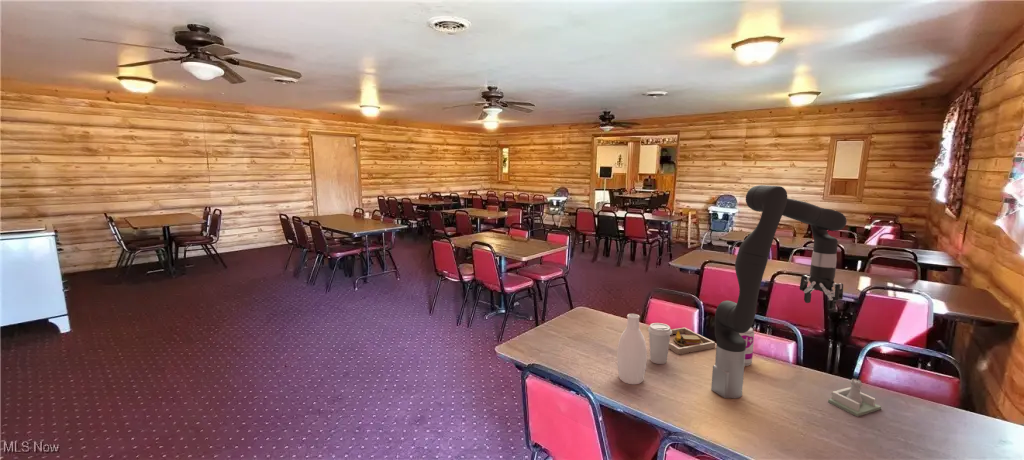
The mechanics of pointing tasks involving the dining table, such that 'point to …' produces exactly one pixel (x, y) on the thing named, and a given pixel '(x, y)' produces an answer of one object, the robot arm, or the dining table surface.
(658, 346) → the coffee cup
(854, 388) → the rook chess piece
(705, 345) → the tray rim
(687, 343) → the toy sandwich meal
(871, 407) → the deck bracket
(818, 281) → the robot arm
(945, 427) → the dining table surface
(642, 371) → the bottle
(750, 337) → the supplement can
